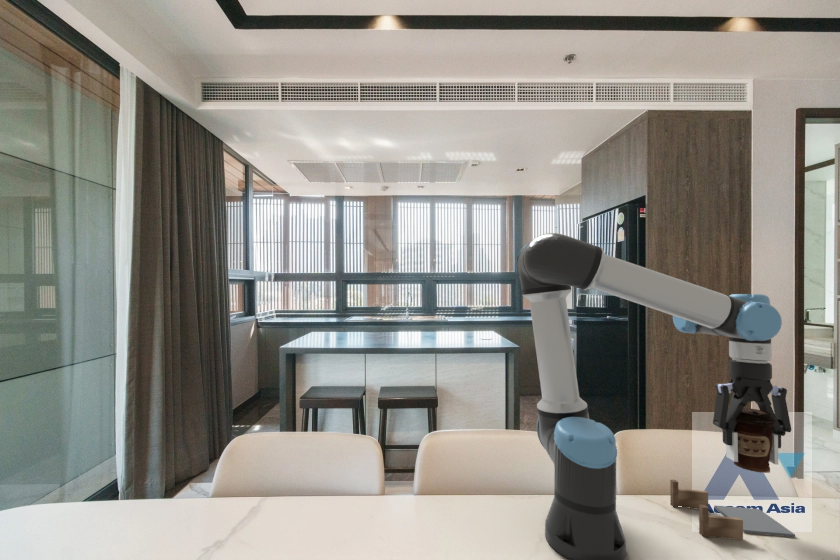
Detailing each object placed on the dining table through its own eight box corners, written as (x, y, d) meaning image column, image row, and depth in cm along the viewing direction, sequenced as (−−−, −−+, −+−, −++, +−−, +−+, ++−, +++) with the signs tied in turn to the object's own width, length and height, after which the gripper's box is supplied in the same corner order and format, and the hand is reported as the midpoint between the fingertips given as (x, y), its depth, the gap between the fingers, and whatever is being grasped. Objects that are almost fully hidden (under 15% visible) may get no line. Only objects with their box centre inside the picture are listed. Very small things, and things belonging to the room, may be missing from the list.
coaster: (744, 532, 83) (744, 529, 83) (714, 507, 93) (714, 505, 93) (795, 537, 82) (795, 534, 82) (759, 511, 92) (759, 509, 92)
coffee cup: (779, 480, 82) (777, 418, 83) (729, 469, 87) (728, 411, 88) (773, 466, 89) (772, 410, 90) (728, 457, 94) (727, 403, 95)
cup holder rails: (702, 536, 82) (702, 507, 82) (670, 504, 94) (670, 479, 95) (743, 540, 81) (743, 510, 81) (705, 507, 93) (705, 482, 94)
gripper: (712, 361, 87) (714, 464, 86) (813, 365, 85) (816, 471, 83) (693, 356, 94) (694, 451, 93) (785, 359, 92) (787, 457, 91)
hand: (751, 460), depth 88 cm, fingers closed on coffee cup, 8 cm apart
